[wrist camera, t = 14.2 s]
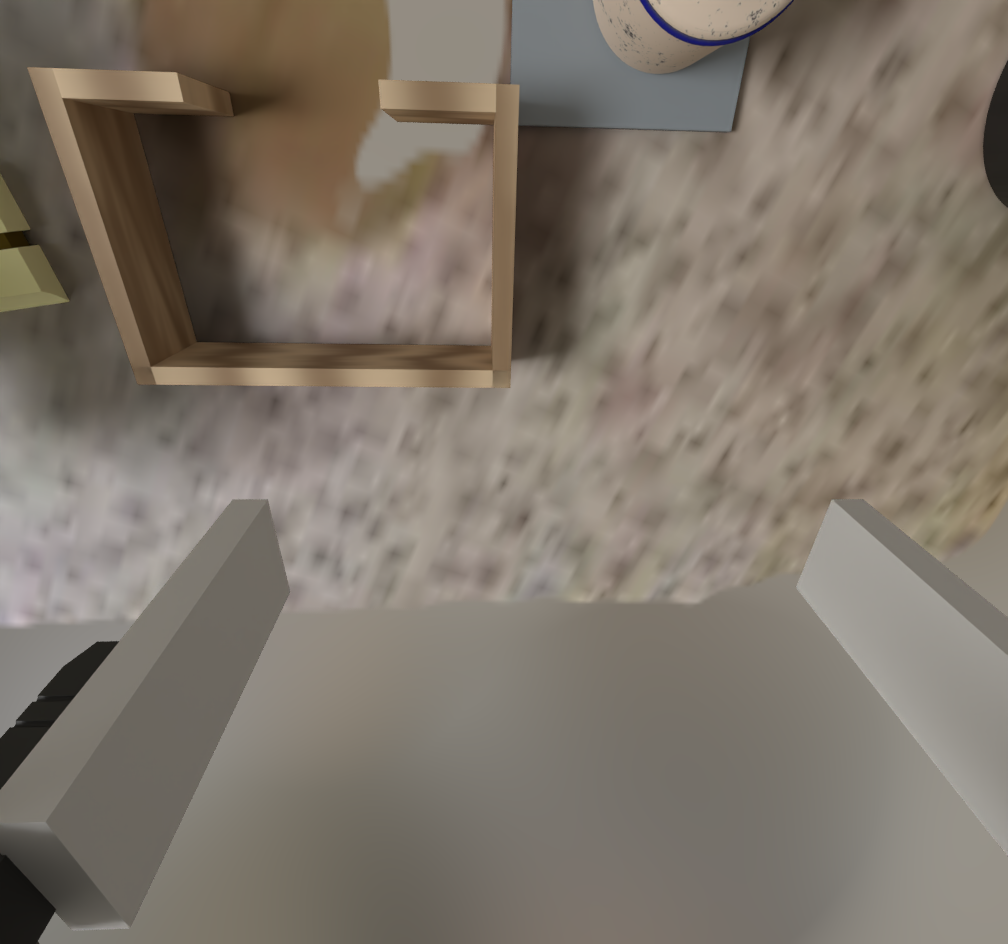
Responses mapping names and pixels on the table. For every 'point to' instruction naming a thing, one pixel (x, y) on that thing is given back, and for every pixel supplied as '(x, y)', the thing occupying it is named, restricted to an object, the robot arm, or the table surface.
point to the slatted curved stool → (23, 263)
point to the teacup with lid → (679, 28)
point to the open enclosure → (149, 260)
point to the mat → (612, 77)
